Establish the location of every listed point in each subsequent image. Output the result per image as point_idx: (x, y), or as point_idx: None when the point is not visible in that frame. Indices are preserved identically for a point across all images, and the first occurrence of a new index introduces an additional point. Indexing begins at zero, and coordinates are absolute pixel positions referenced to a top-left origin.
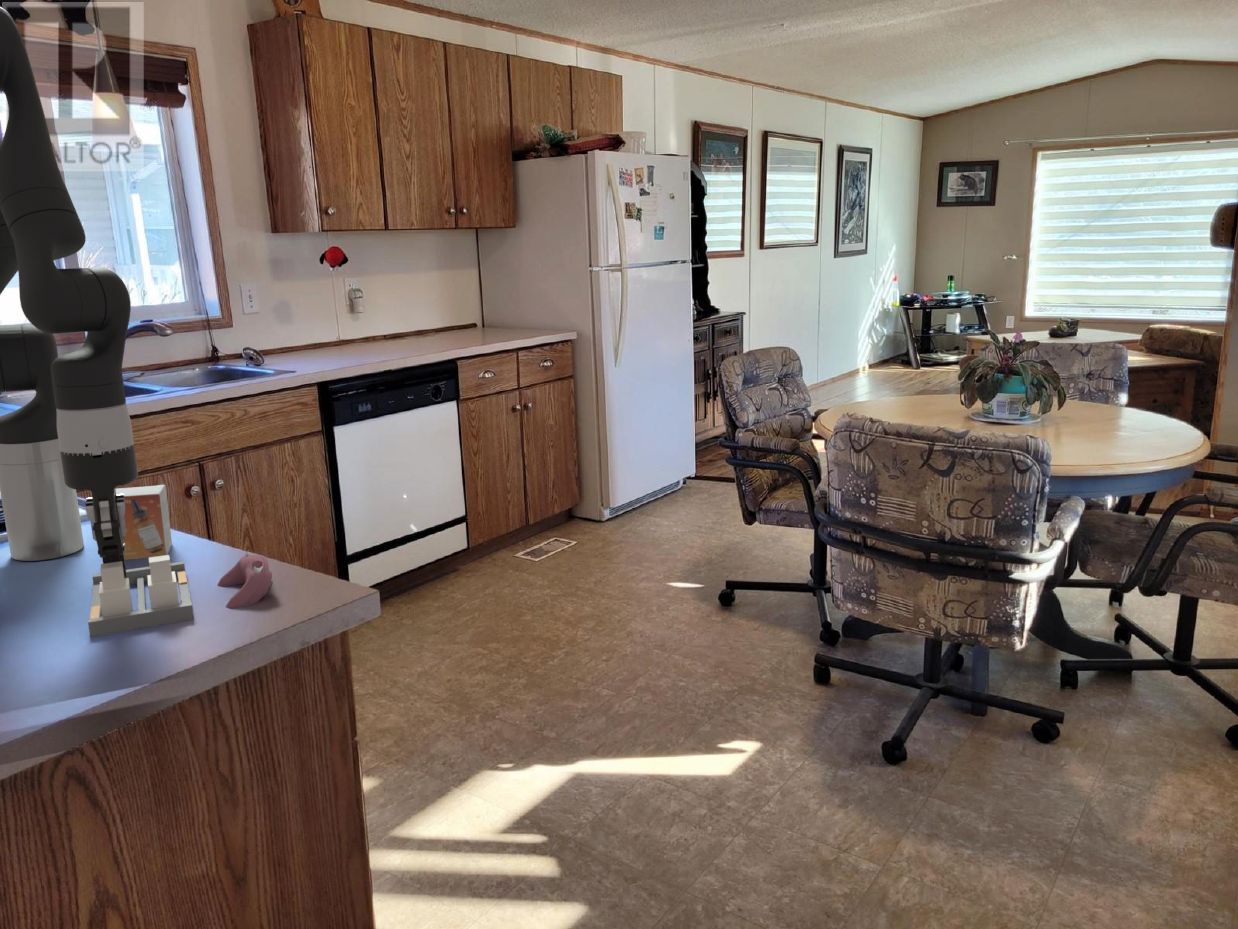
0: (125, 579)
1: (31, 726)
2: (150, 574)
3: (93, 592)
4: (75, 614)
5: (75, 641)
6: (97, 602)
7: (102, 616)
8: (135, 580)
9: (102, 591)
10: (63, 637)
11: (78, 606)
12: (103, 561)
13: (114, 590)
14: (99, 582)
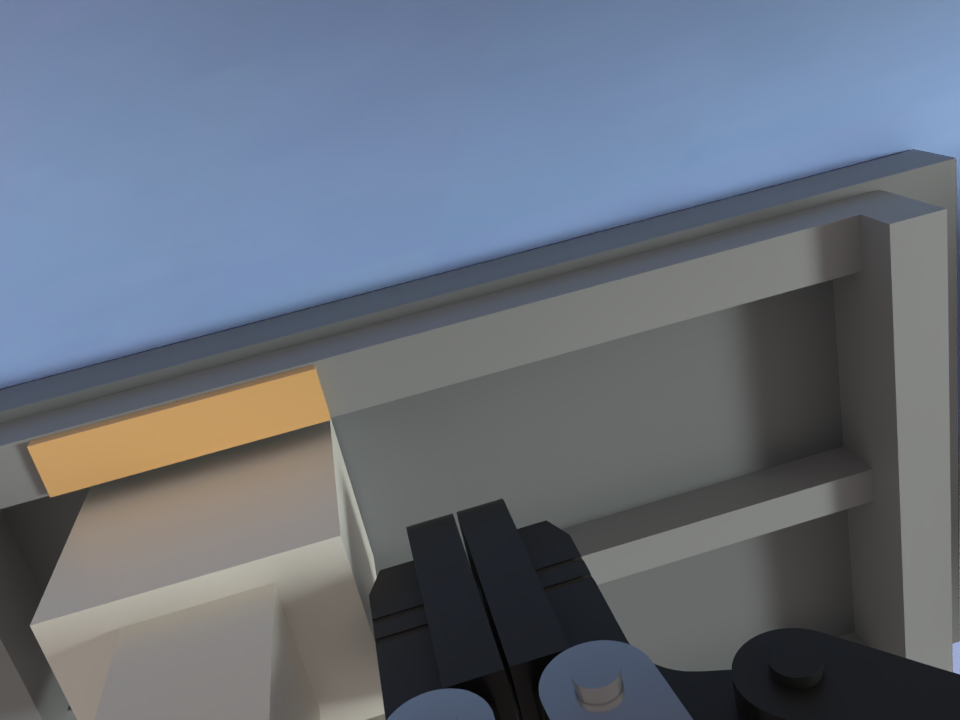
0: (362, 700)
1: None
2: (878, 537)
3: (653, 277)
4: (557, 136)
5: (51, 286)
6: (429, 368)
7: (81, 511)
8: (858, 445)
9: (72, 638)
10: (138, 184)
11: (704, 112)
12: (438, 664)
13: (93, 712)
14: (855, 255)
